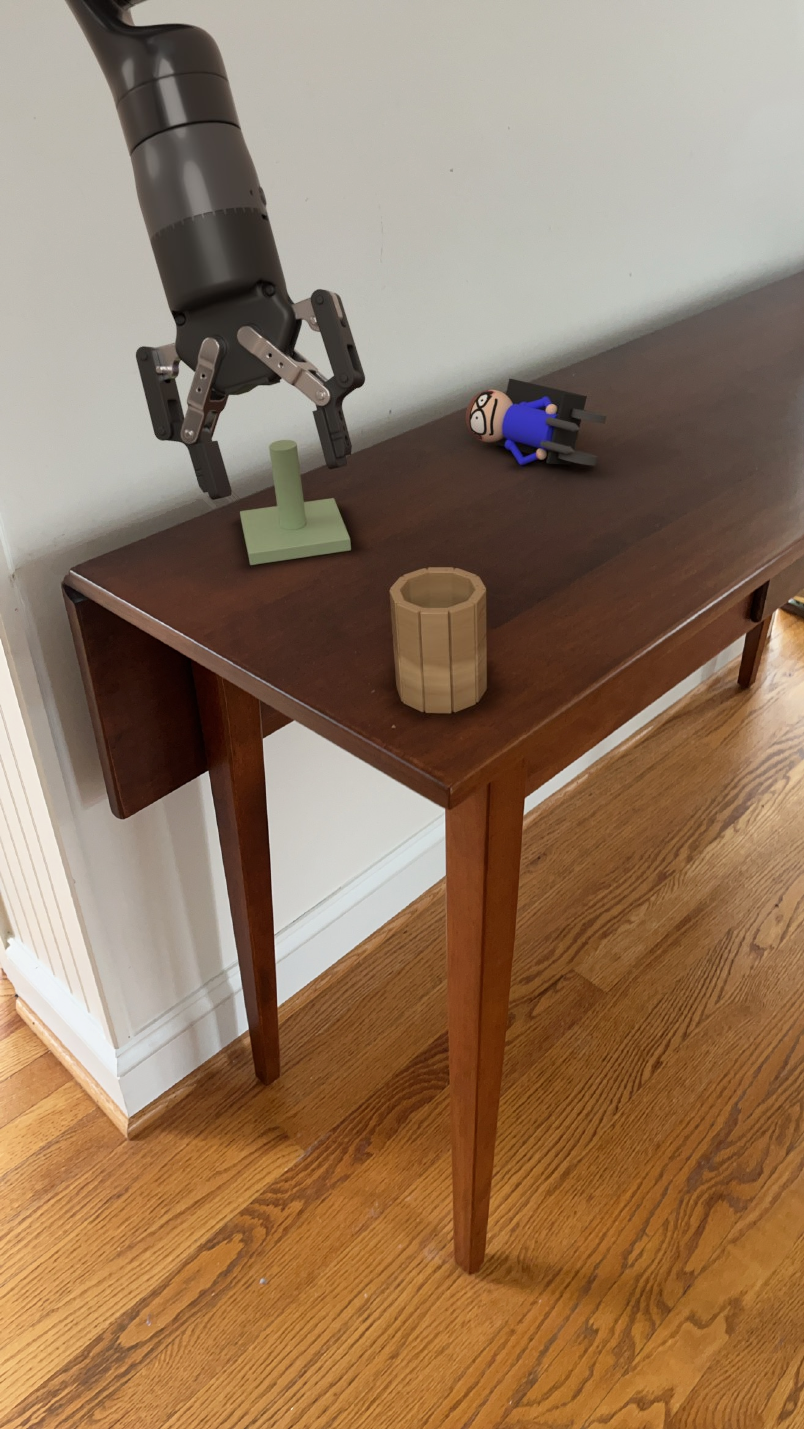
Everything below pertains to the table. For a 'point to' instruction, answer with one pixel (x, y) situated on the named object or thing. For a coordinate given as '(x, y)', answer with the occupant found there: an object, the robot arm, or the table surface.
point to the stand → (292, 517)
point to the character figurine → (532, 422)
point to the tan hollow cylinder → (439, 639)
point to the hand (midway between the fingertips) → (279, 482)
